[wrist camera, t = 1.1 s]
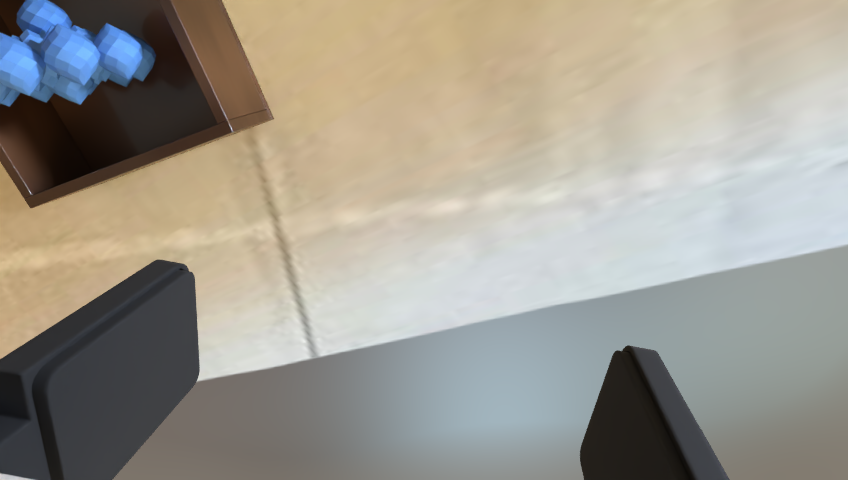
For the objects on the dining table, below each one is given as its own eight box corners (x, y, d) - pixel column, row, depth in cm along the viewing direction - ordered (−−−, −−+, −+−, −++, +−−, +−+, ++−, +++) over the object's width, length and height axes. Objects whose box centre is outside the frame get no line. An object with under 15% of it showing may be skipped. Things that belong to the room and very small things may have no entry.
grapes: (174, -18, 34) (22, -50, 23) (207, 81, 36) (84, 95, 25) (38, 19, 36) (-162, 6, 25) (77, 110, 38) (-89, 135, 27)
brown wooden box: (-24, -20, 36) (-126, -34, 30) (167, -123, 32) (93, -163, 26) (96, 185, 41) (30, 208, 35) (274, 118, 37) (233, 132, 31)
